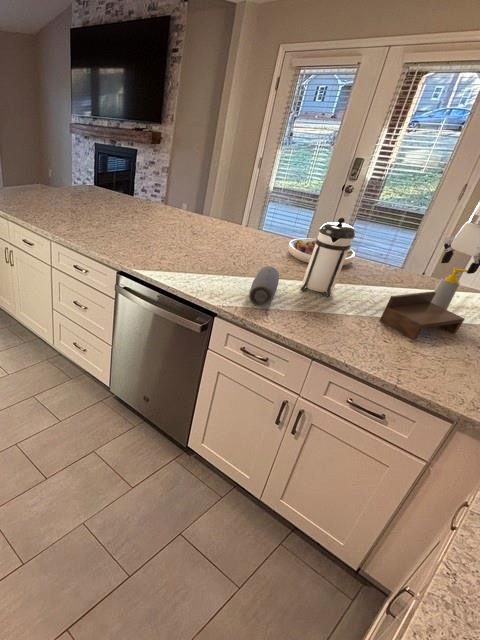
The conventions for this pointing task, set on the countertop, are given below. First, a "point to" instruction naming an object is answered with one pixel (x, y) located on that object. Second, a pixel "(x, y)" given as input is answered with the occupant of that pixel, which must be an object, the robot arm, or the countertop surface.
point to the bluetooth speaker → (264, 286)
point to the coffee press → (328, 256)
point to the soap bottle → (446, 289)
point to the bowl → (310, 250)
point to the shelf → (418, 314)
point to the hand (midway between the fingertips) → (456, 267)
